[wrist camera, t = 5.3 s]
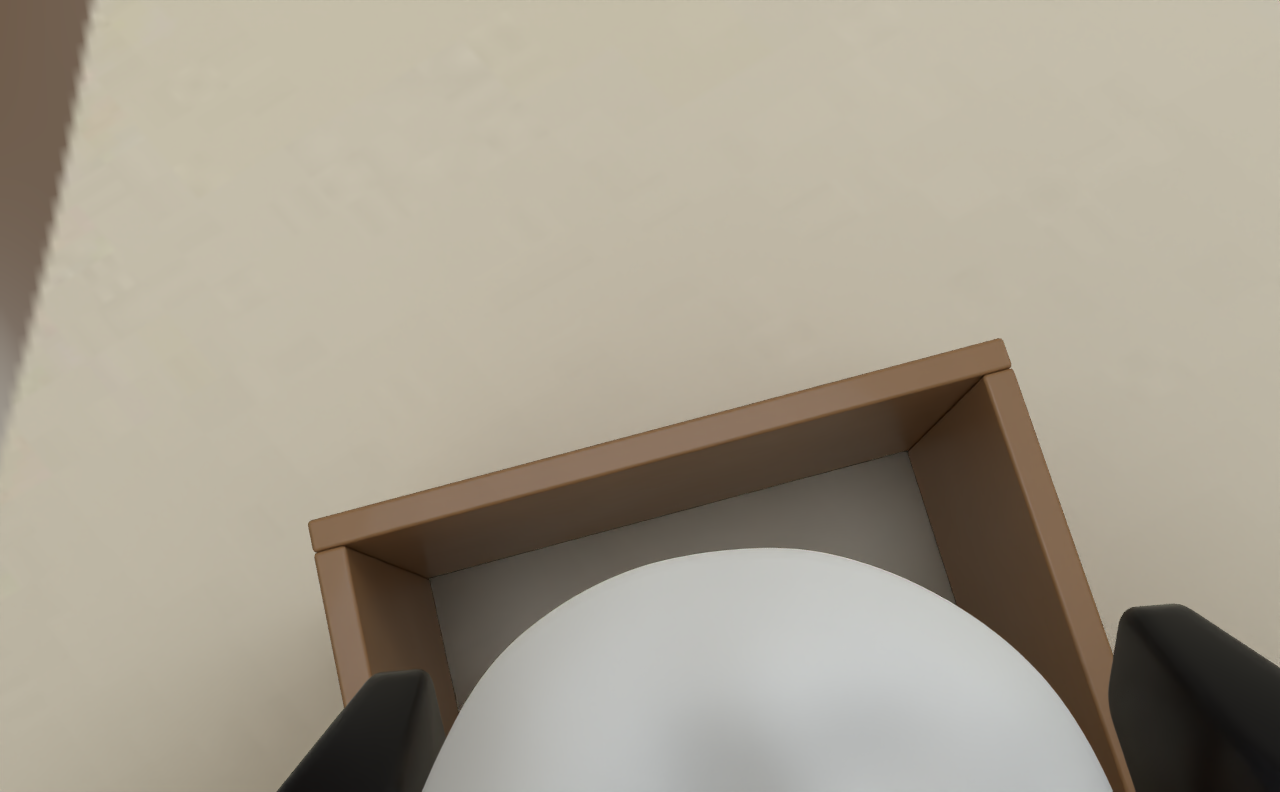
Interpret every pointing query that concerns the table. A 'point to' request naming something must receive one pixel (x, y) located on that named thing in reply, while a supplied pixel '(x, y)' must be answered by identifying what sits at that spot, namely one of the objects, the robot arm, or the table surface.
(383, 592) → the carton
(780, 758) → the milkshake
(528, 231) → the table surface
